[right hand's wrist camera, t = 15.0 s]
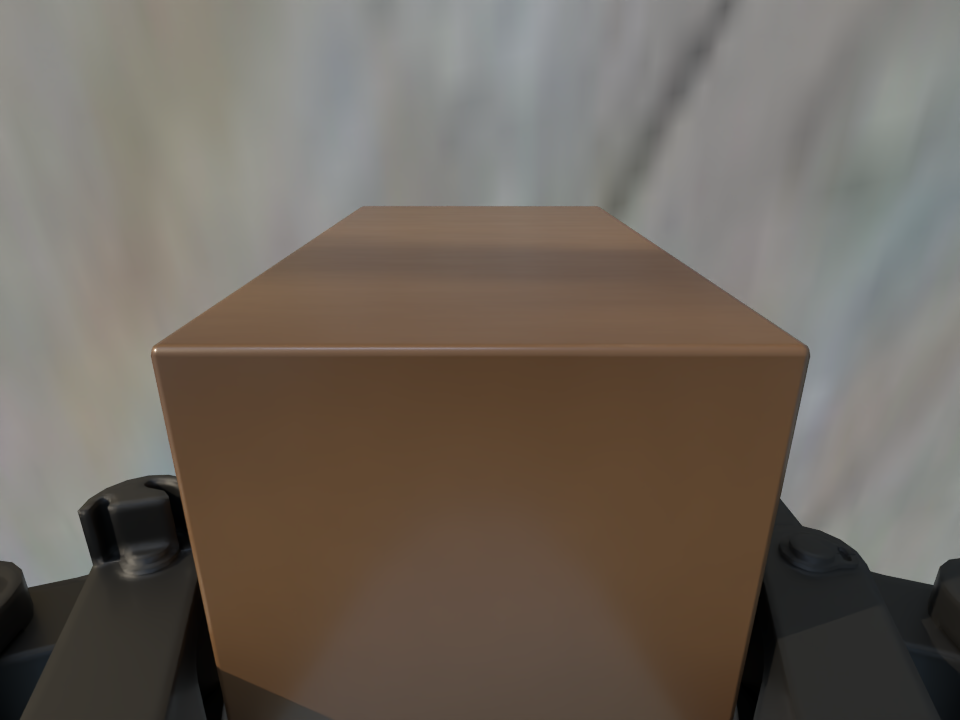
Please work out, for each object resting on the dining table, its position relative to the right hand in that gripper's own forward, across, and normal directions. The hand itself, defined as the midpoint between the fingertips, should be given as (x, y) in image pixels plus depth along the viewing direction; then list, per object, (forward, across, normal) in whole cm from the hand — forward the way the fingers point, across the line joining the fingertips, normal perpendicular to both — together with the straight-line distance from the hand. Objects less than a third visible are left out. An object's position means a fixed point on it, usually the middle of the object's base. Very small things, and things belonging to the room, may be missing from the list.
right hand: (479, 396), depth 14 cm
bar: (+1, 0, -10) cm, 10 cm away
